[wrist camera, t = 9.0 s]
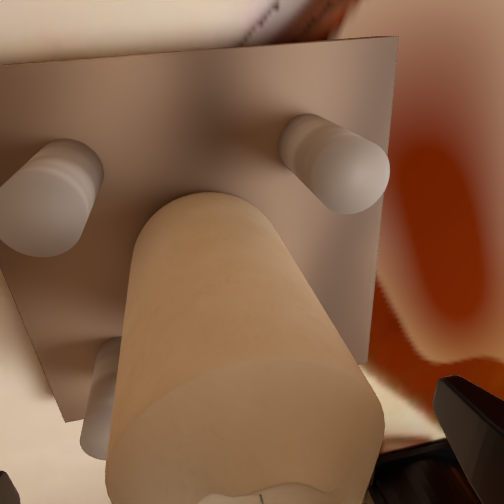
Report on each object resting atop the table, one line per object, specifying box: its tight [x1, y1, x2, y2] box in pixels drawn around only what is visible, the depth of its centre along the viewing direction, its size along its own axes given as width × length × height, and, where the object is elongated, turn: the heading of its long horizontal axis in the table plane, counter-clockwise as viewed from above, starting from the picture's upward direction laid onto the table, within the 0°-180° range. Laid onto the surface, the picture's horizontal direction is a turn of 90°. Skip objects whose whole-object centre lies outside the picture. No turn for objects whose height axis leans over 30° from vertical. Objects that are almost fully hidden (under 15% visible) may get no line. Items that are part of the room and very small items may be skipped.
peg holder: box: [0, 36, 399, 460], centre depth 14 cm, size 14×14×6 cm
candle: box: [105, 192, 385, 504], centre depth 11 cm, size 6×6×10 cm
